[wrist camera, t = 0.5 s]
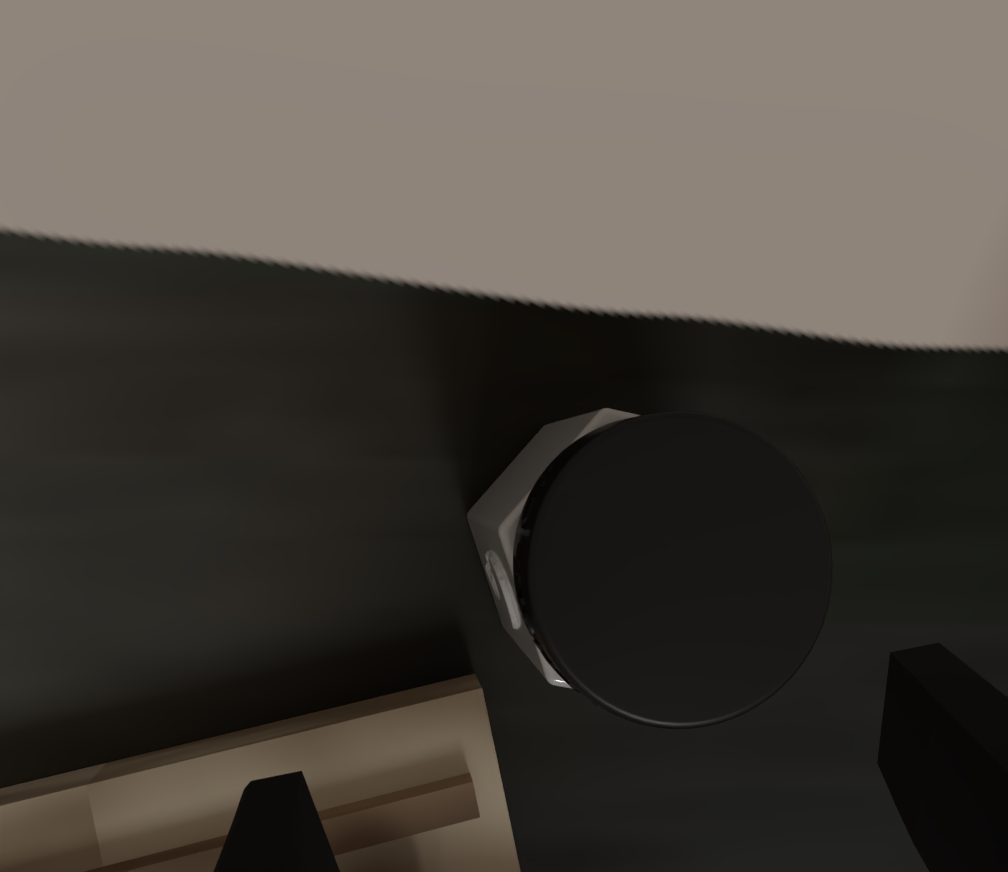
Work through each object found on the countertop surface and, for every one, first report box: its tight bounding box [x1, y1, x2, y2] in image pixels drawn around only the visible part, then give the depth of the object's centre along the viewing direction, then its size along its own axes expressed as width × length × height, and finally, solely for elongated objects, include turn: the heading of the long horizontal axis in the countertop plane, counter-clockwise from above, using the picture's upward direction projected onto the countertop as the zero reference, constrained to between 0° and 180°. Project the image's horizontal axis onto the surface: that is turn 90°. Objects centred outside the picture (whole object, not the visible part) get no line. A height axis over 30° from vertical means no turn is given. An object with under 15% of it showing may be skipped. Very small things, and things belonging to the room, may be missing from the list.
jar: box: [467, 408, 832, 729], centre depth 30 cm, size 9×8×12 cm
